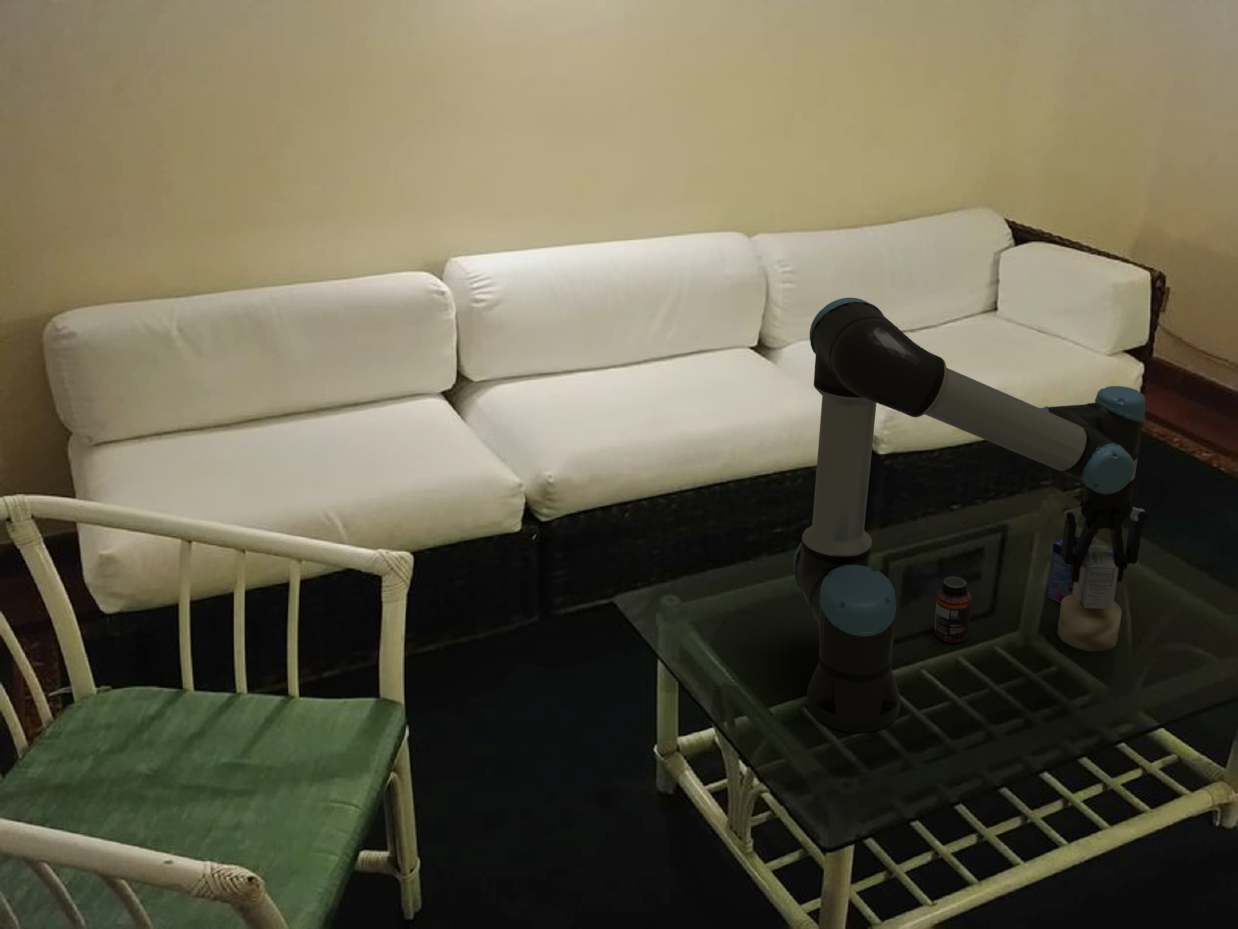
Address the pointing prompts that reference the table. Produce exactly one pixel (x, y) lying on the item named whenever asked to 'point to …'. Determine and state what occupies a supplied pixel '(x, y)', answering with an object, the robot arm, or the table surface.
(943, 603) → the supplement bottle
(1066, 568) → the ink cartridge box
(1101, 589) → the medicine box
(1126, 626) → the table surface
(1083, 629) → the birch riser
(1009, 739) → the table surface
